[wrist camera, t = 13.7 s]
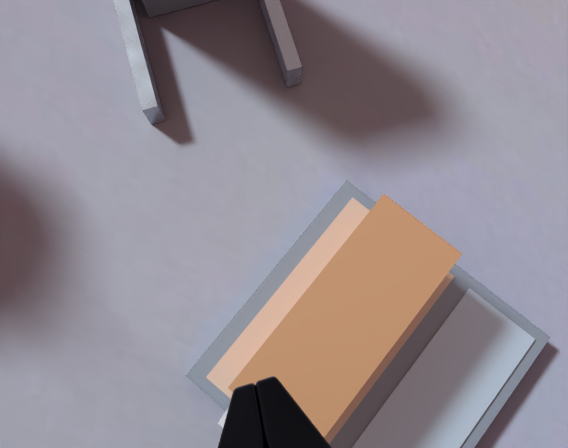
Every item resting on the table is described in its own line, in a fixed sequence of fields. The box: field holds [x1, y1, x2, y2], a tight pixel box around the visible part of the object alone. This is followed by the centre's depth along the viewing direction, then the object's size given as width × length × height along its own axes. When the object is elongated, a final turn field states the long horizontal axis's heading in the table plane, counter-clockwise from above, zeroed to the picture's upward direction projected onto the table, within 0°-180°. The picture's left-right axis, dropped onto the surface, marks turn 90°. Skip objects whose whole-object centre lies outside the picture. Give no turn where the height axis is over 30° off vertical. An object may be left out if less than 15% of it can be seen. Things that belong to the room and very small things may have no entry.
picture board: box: [186, 180, 550, 448], centre depth 22 cm, size 11×11×1 cm
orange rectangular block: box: [218, 194, 462, 437], centre depth 20 cm, size 4×10×4 cm, turn 141°
